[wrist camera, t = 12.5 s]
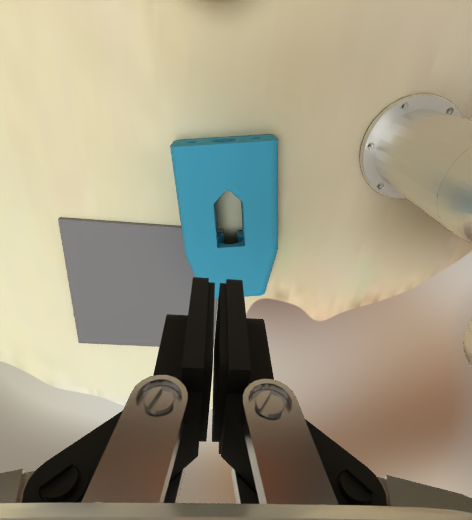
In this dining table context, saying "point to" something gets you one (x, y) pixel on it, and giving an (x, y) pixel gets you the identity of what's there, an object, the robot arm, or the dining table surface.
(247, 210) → the block
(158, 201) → the dining table surface
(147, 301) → the gray square mat
